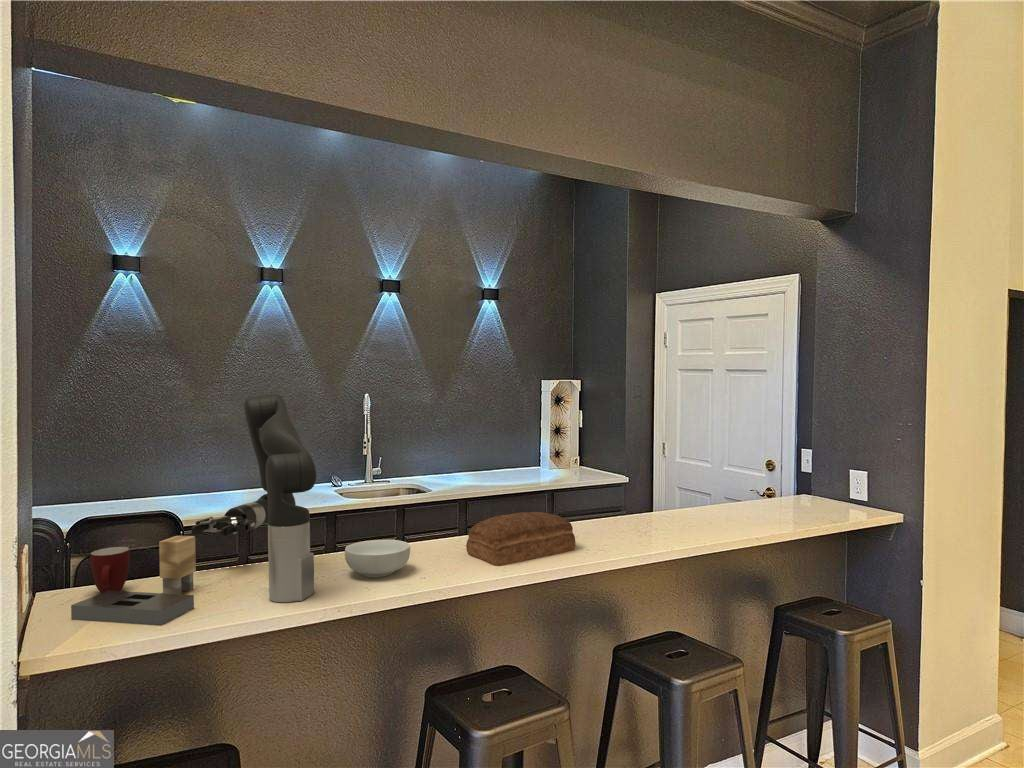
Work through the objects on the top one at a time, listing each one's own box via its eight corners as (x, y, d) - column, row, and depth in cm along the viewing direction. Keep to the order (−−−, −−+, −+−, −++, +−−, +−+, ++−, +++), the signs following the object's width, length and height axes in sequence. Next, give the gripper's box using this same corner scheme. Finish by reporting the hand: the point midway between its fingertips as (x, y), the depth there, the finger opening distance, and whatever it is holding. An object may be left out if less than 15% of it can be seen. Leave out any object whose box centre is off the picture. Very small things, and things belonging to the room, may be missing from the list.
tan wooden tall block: (196, 589, 159) (195, 536, 159) (178, 597, 154) (178, 542, 154) (177, 588, 160) (177, 535, 160) (160, 596, 155) (159, 541, 154)
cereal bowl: (420, 575, 169) (420, 548, 168) (357, 587, 160) (356, 558, 160) (396, 560, 183) (396, 535, 183) (337, 570, 175) (336, 543, 174)
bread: (463, 555, 189) (462, 515, 189) (544, 539, 206) (543, 503, 206) (495, 568, 175) (495, 525, 175) (580, 551, 192) (579, 511, 192)
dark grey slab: (193, 608, 146) (193, 595, 146) (161, 625, 136) (161, 610, 136) (108, 603, 150) (108, 590, 150) (71, 619, 141) (71, 605, 141)
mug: (129, 597, 154) (128, 555, 154) (88, 603, 151) (87, 559, 151) (131, 585, 164) (130, 545, 164) (92, 590, 160) (92, 549, 160)
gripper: (222, 503, 185) (182, 516, 169) (268, 505, 183) (232, 518, 167) (222, 530, 185) (183, 545, 170) (268, 532, 183) (232, 547, 167)
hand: (207, 531), depth 168 cm, fingers open, 8 cm apart
